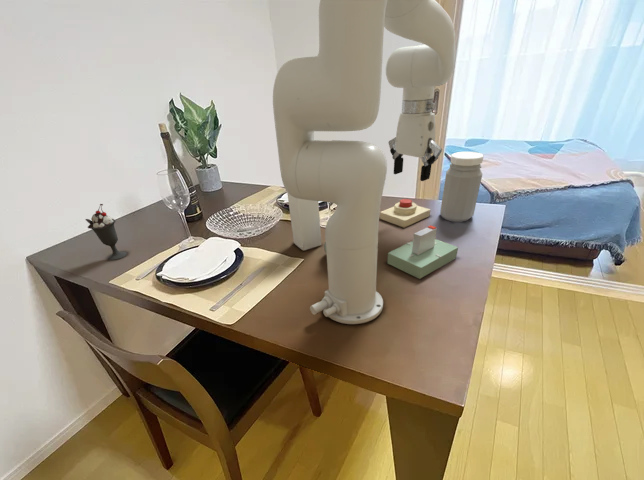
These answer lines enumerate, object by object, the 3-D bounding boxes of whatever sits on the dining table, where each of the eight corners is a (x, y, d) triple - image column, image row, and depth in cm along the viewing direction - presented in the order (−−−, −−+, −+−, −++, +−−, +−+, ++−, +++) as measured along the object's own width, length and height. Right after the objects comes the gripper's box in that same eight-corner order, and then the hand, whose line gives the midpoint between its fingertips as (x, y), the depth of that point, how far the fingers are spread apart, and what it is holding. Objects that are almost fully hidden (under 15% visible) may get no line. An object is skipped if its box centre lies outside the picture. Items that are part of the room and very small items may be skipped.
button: (406, 209, 100) (406, 203, 99) (397, 206, 102) (397, 201, 101) (413, 206, 102) (414, 200, 101) (404, 203, 104) (405, 198, 103)
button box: (404, 227, 98) (405, 214, 96) (379, 218, 105) (380, 206, 102) (429, 216, 104) (431, 203, 101) (404, 208, 110) (405, 196, 108)
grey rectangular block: (418, 255, 78) (420, 235, 75) (411, 252, 79) (413, 232, 76) (434, 247, 81) (437, 227, 78) (427, 244, 82) (430, 224, 79)
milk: (303, 251, 90) (293, 168, 77) (293, 243, 95) (282, 163, 82) (322, 245, 93) (315, 163, 79) (312, 237, 97) (304, 158, 84)
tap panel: (420, 279, 75) (421, 267, 73) (386, 263, 82) (387, 252, 80) (456, 258, 82) (458, 246, 80) (423, 244, 89) (424, 234, 87)
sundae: (135, 251, 98) (112, 201, 89) (118, 262, 92) (93, 211, 84) (117, 249, 99) (93, 201, 90) (99, 260, 94) (73, 210, 85)
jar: (469, 224, 96) (483, 160, 86) (435, 220, 101) (444, 158, 90) (475, 213, 103) (489, 151, 92) (443, 209, 107) (452, 149, 97)
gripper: (456, 107, 79) (445, 179, 90) (401, 103, 91) (397, 168, 101) (436, 111, 76) (427, 186, 86) (381, 107, 87) (379, 173, 98)
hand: (410, 176), depth 94 cm, fingers open, 9 cm apart
